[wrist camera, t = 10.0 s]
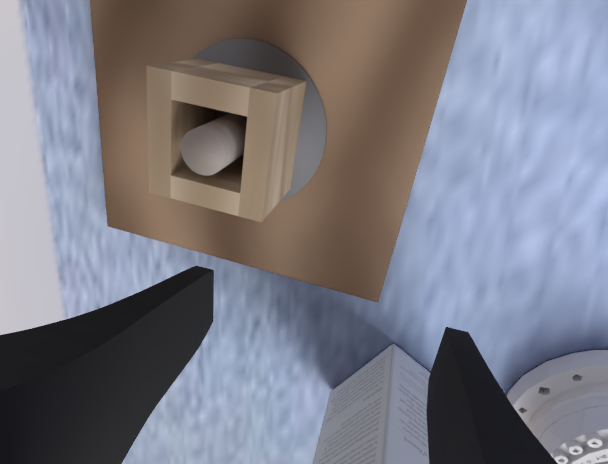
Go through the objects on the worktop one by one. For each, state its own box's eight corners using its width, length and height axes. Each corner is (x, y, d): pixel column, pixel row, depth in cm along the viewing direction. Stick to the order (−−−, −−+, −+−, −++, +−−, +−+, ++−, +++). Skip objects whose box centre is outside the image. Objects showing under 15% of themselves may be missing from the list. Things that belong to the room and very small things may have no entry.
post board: (474, -31, 16) (494, -57, 11) (379, 291, 23) (367, 362, 18) (99, -86, 18) (-17, -127, 13) (118, 219, 25) (46, 263, 20)
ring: (306, 81, 18) (277, 93, 14) (290, 188, 20) (261, 222, 17) (198, 58, 19) (146, 65, 15) (195, 165, 21) (148, 192, 17)
